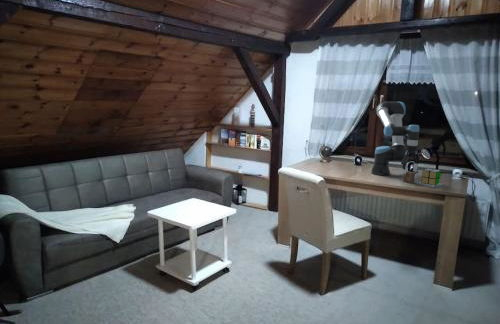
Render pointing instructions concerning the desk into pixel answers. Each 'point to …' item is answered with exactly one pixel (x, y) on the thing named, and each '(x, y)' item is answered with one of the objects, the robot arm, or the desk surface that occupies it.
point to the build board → (430, 185)
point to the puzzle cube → (430, 176)
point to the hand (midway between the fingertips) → (409, 172)
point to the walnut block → (409, 177)
